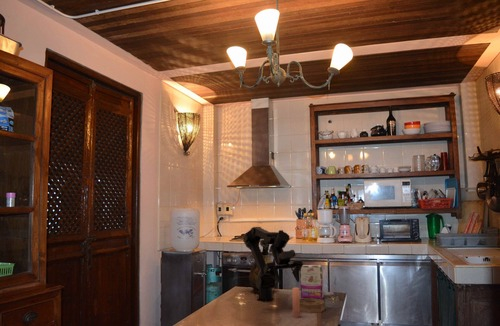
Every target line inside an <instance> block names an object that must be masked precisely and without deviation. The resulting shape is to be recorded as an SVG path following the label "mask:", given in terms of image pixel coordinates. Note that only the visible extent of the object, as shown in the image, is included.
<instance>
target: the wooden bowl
mask: <svg viewBox="0 0 500 326" xmlns="http://www.w3.org/2000/svg"><path fill="white" fill-rule="evenodd" d="M325 310H326V303H325V301H324V300H323V299H314V298H300V313H309V314H316V313H322V312H323V311H325Z"/></svg>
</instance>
